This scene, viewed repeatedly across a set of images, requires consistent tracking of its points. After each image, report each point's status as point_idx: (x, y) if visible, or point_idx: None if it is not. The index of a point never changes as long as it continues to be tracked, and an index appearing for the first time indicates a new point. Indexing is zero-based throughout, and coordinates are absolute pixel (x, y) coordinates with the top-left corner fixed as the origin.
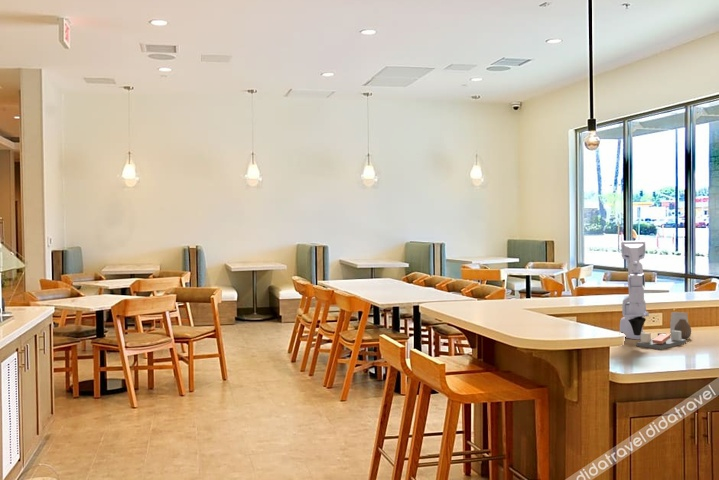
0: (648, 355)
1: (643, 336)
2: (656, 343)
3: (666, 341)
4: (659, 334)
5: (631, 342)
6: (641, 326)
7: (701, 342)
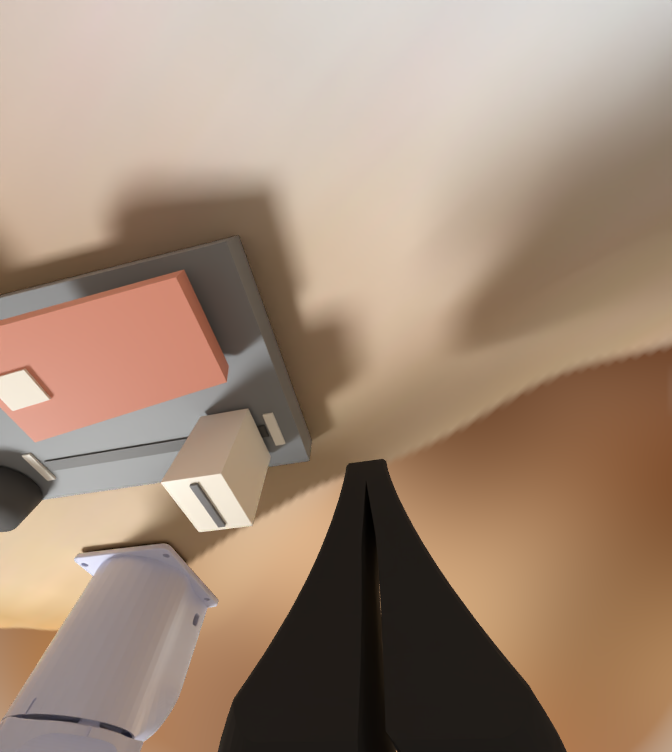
0: (667, 5)
1: (249, 477)
2: None
3: None
4: (13, 508)
5: None
6: (349, 563)
7: None
